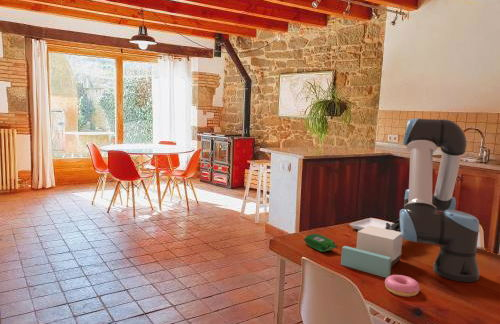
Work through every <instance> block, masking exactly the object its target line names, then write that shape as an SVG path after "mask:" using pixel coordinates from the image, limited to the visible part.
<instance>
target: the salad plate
mask: <svg viewBox="0 0 500 324" xmlns="http://www.w3.org/2000/svg"><path fill="white" fill-rule="evenodd" d="M386 223H389V224H390V225H392V224H394V223H395V222H391V221H387V220H383V219H377V218H373V217H369V218H364V219H360V220H357V221H354V222H351V223H349V226H350V227H352V228H353V229H356V230H357V231H360V230H362V229H363V228H365V227H367V226H374V227H379V228H383V229H385V228H386Z"/></svg>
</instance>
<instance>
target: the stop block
mask: <svg viewBox="0 0 500 324" xmlns="http://www.w3.org/2000/svg"><path fill="white" fill-rule="evenodd" d="M340 258H341V259H340V265H341V266H343V267H346V268H350V269H354V270H357V271H361V272H365V273H369V274H371V275H375V276H378V277H382V278H385V279H386V278H387V277H389V276H391V269H392V268H391V257H387V256H383V255H379V254H375V253H372V252H368V251H364V250H360V249H356V247H352V246H348V245H344V246H342V247H341V256H340Z"/></svg>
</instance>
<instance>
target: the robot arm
mask: <svg viewBox="0 0 500 324" xmlns="http://www.w3.org/2000/svg"><path fill="white" fill-rule="evenodd" d="M406 123H407V124H406V127H405V132H404V137H403V142H402V144H403V146H406V150H407V151H408V152H409V178H408V188H407V189H405V193H404V201H403V202H404V203H403V208H402V209H400V210H399V218H398V219H397V220H396V221H394V222H393V223H394V224H392V225H390V224H389V223H386V228H385V229H388V230H393V231H397V232H401V235H402V240H405V241H409V242H414V243H423V244H430V245H440V249H439V252H438V254H437V257H436V259H435V260H434V263H433V272H434V273H435V274H437V275H438V276H440V277H443V278H445V279H448V280H451V281H456V282H462V283H472V282H477V281H478V280H479V279H480V269H479V266H478V262H477V261H478V260H477V258H476V254H477V250H478V249H477V247H478V241H479V240H478V238H479V233H480V221H479V219H478V218H477V217H476V216H475V215H473V214H471V213H467V212H464V211H460V210H456V205H457V203H456V202H457V201H456V198H455V197H454V196H453V194H454V190H455V185H456V181H457V176H458V174H459V169H460V168H459V167H460V165H461V159H462V156H463V155H465V153H466V151H467V150H466V149H467V145H468V144H467V137H466V134H465V133H464V130H463V129H462V128H461V126H459V125H458V124H457V123H456V122H454V121H452V120H449V119H436V118H434V119H432V118H431V119H428V118H426V119H425V118H419V117H418V118H410V119H409V120H407V122H406ZM438 148H440V151H441V153H442V154H441V158H440V163H439V168H438V172H437V173H438V174H437V179H436V183H435V189H434V193H433V171H434V170H433V161H434V160H433V159H434V158H433V155H434V154H433V153H435V152H436V151H437V149H438Z"/></svg>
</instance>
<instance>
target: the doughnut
mask: <svg viewBox="0 0 500 324" xmlns="http://www.w3.org/2000/svg"><path fill="white" fill-rule="evenodd" d="M384 285H385V288H386V290H387V291H389V292H390V293H392V294H393V295H396V296H400V297H407V298H409V297H414V296H416V295H418V294H419V292H420V290H421V287H420V284H419V283H418V281H417V280H416V279H414V278H413V277H410V276H406V275H403V274H392V275H391V274H390V276H389V277H387V278H385V280H384Z"/></svg>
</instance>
